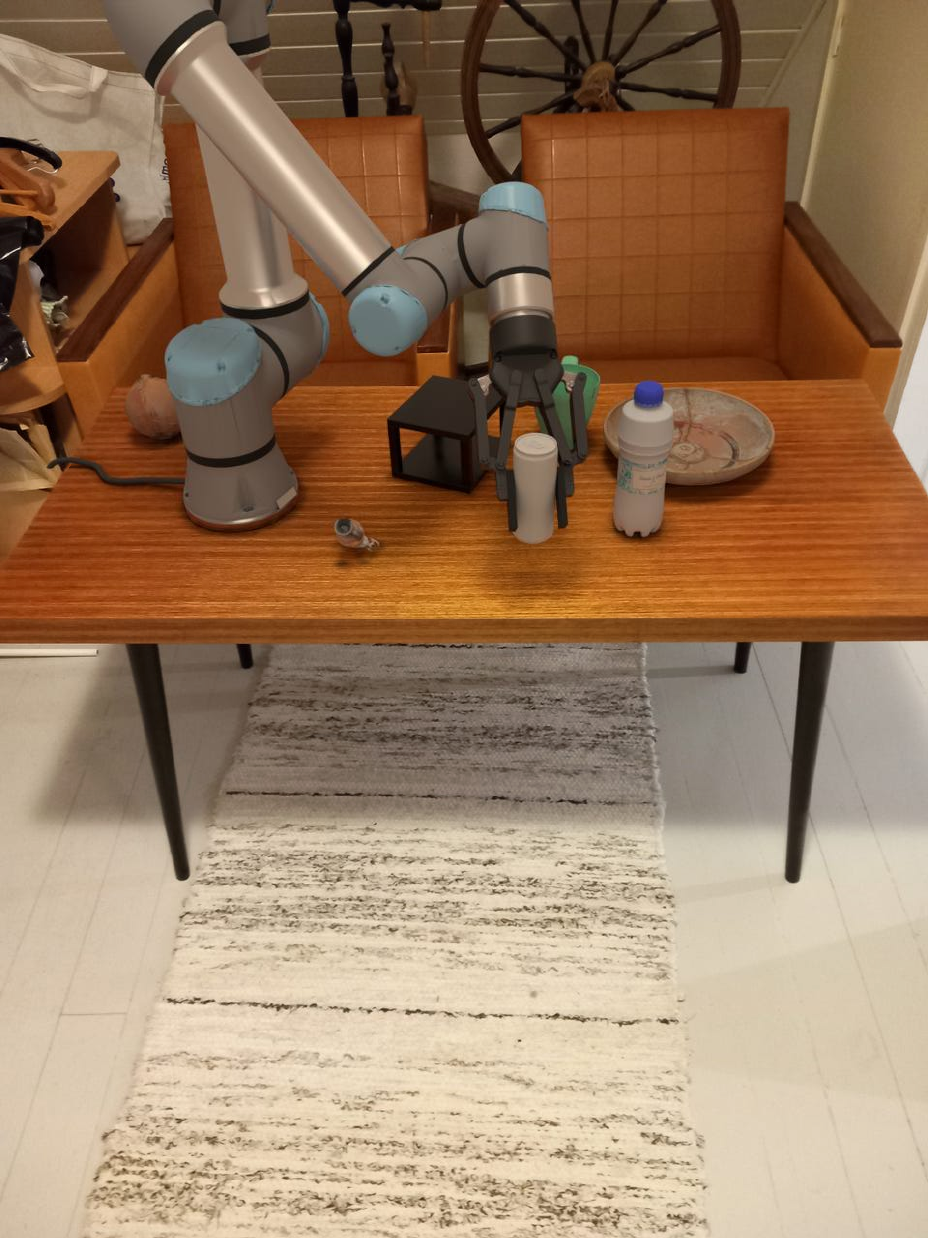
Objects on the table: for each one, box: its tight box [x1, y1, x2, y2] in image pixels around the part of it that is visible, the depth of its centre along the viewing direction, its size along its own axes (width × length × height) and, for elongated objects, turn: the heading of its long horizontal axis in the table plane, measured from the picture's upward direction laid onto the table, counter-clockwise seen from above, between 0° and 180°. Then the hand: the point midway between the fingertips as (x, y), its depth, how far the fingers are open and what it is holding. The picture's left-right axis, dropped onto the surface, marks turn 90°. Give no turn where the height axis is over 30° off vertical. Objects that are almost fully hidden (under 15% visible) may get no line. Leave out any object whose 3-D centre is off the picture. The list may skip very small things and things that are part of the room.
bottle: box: [612, 380, 674, 538], centre depth 120 cm, size 7×7×20 cm
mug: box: [533, 355, 601, 451], centre depth 142 cm, size 15×10×10 cm
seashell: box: [333, 517, 380, 551], centre depth 122 cm, size 5×5×6 cm
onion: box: [124, 373, 181, 441], centre depth 146 cm, size 10×9×10 cm
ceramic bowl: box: [602, 386, 776, 486], centre depth 137 cm, size 23×24×5 cm
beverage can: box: [512, 432, 558, 545], centre depth 111 cm, size 5×5×12 cm
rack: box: [386, 374, 505, 495], centre depth 137 cm, size 12×14×9 cm
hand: (538, 527), depth 109 cm, fingers closed on beverage can, 5 cm apart
